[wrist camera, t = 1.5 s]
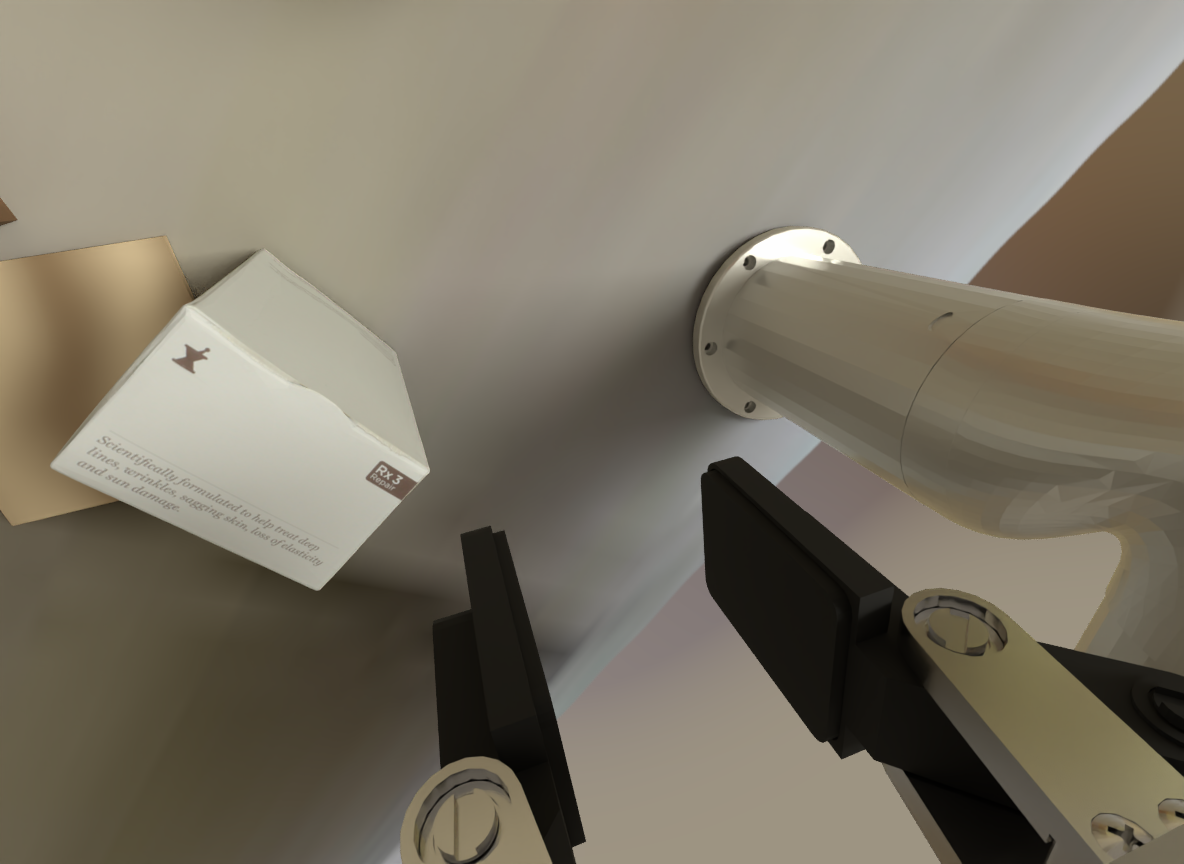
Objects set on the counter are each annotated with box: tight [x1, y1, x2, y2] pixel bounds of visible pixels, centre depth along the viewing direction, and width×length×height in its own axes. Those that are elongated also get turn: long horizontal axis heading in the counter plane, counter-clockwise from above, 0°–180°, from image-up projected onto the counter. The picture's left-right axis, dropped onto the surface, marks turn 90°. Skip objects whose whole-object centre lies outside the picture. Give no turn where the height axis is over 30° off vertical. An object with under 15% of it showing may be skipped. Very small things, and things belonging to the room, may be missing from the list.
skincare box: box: [50, 248, 430, 591], centre depth 22 cm, size 8×6×15 cm
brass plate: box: [0, 236, 195, 526], centre depth 27 cm, size 12×12×1 cm
